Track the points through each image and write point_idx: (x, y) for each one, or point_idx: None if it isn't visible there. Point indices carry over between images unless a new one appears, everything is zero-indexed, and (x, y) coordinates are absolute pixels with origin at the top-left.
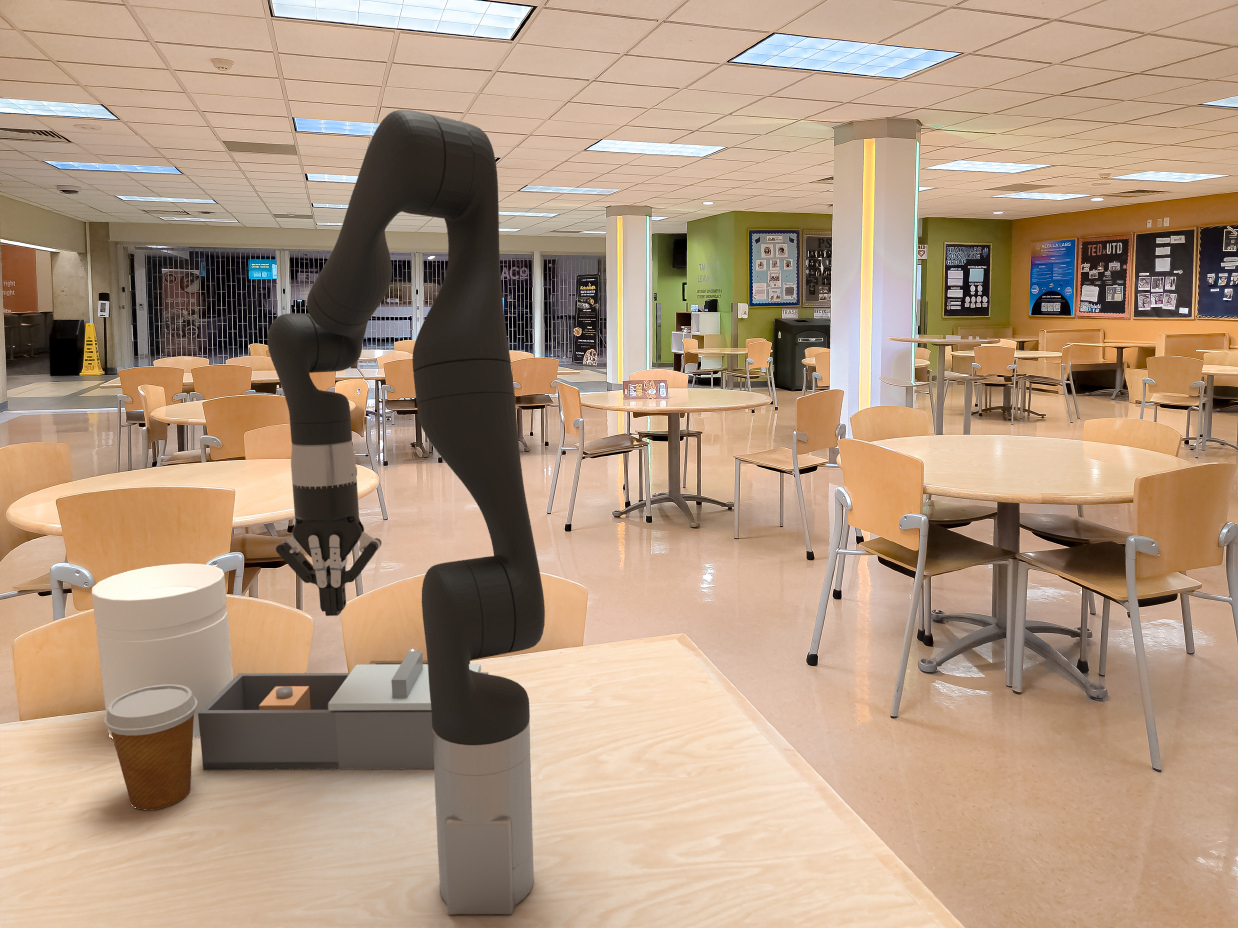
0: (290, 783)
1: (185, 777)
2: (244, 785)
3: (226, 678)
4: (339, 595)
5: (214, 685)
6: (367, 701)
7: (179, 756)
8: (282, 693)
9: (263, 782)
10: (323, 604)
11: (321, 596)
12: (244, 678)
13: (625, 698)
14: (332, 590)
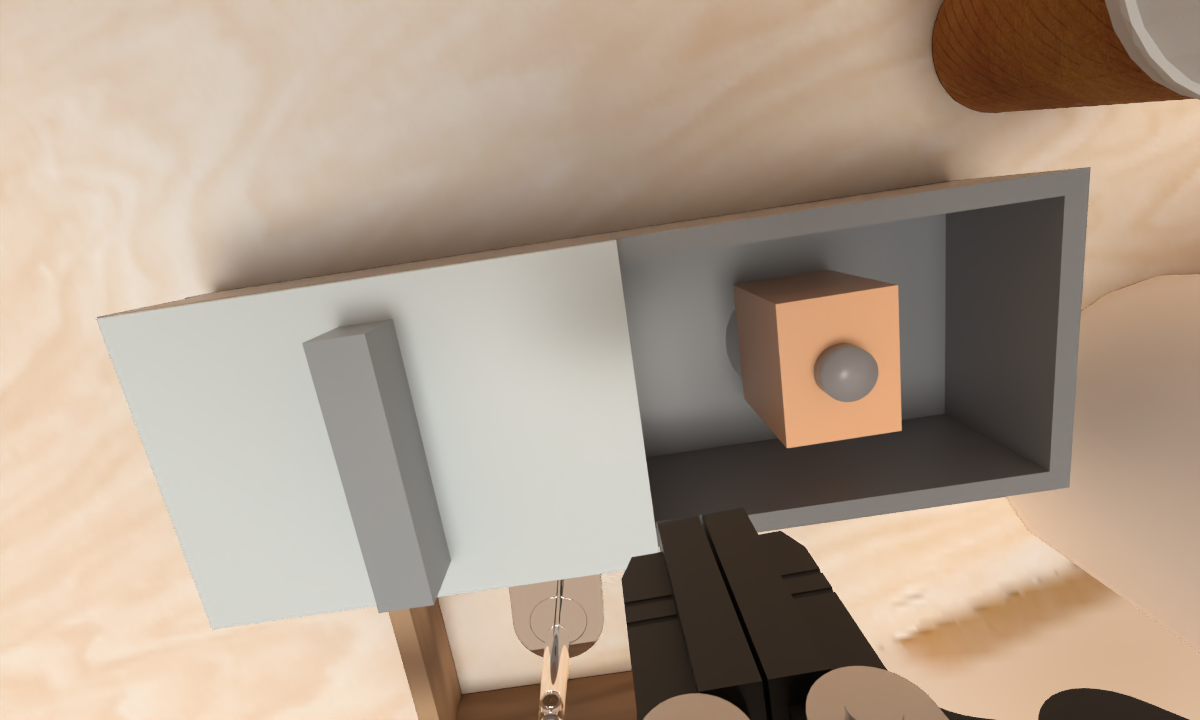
0: (684, 146)
1: (964, 14)
2: (802, 119)
3: (1098, 502)
4: (657, 649)
5: (1118, 446)
6: (474, 279)
7: None
8: (844, 349)
9: (759, 141)
10: (786, 565)
11: (830, 616)
12: (1034, 468)
13: (12, 684)
14: (724, 665)
